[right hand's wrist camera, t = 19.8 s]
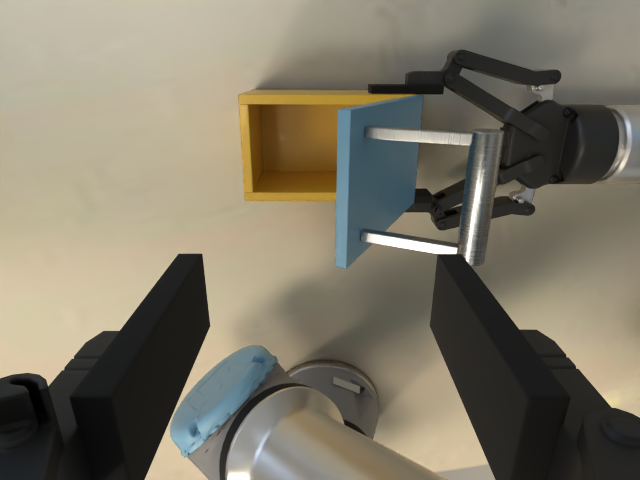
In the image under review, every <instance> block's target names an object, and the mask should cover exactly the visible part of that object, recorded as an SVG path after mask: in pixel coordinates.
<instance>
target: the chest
mask: <svg viewBox="0 0 640 480" xmlns="http://www.w3.org/2000/svg"><path fill="white" fill-rule="evenodd" d="M413 95H415V94H370V93H368V90H278V89H253V90H251V91H248V92H245V93H242V94H239V95H238V98H239V114H240V130H241V146H242V162H243V178H244V192H245V201H336V189H337V132H338V109H342V108H348V107H353V106H359V105H364V104H369V103H375V102H380V101H386V100H391V99H397V98H402V97H408V96H413Z"/></svg>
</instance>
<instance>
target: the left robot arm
mask: <svg viewBox="0 0 640 480" xmlns="http://www.w3.org/2000/svg"><path fill="white" fill-rule="evenodd" d="M462 68H465V69H468V70H472V71H475V72H478V73H482V74H485V75H488V76H492V77H495V78H499V79H502V80H505V81H509V82H512V83H516V84H523V85H527V90H528V92H529V93H532V94H535V95H536V96H537V98H538V100H537V101H535V102H534V103H532V104H531V105H529V106H528V107H527V108H525V109H524V110H522V111H521V112H519V111H518V110H516V109H514V108H512V107H510V106H508V105H507V104H505V103H503V102H502V101H500V100H499V99H497V98H495V97H494V96H492V95H491V94H489V93H487V92H486V91H484V90H483V89H481V88H479V87H478V86H476V85H475V84H473V83H471V82H470V81H468V80H467V79H465V78H463V77H462V76H460V75H459V74H460V72H461V69H462ZM560 79H561V73H560V71H558V70H534V71H532V70H529V69H526V68H522V67H519V66H516V65H512V64H509V63H506V62H502V61H499V60H496V59H492V58H489V57H486V56H482V55H479V54H476V53H472V52H469V51H466V50H456V51H452V52H450V53H449V54H448V57H447V62H446V64H445V66H444V68H443V69H442V70H440V71H411V72H409V73H406V77H405V84H368V93H370V94H443V90H444V87H446V88H448V89H449V90H451V91H453V92H454V93H456V94H458V95H459V96H461V97H462V98H464V99H466V100H467V101H469V102H471V103H472V104H474V105H475V106H477V107H479V108H480V109H482V110H484V111H485V112H487V113H488V114H490V115H492V116H493V117H494V118H496V119H497V120H499V121H501V122H502V123H504V126H503V127H501V128H500V130H502V131H504V138H503V145H502V151H501V157H500V164H499V170H498V177H497V183H496V186H497V185H500V184H505V183H507V182H510V181H512V180H514V179H516V180H517V181H518V182H519V183H521V184H522V187H521V188H520V189H519V190H518V191H513V192H511V193H509V196H502V197H496V198H494V202H493V209H492V215H491V219H493V218H497V217H501V216H505V215H509V214H516V215H527V216H528V215H531V214H533V213H534V211H535V206H534V205H532V204H531V203H532V200H533V196H534V193H535V189H537V188H539V187H541V186H543V185H546V184H592V183H597V184H640V105H608V106H603V105H560V104H558V103H557V102H555V101H553V93H554V84H556V83H557V82H559V80H560ZM464 187H465V179H464V180H462V181H460V182H458V183H456V184H454V185H452V186H450V187H448V188H446V189H444V190H442V191H440V192H438V193H436V194H434V195H432V194H431V193H430V192H429V191H428V190H427V189H415V198H414V203H413V204H412V205H411V206H410V207H409V208H408V209H407V210H406V211H405V212H428V213H430V215H431V220H432V222H433V223H434V224H435V226H436V227H437V228H438V229H439V230H447V229H451V228H455V227H459V226H460V218H461V210H462V206H459V207H455V208H452V207H454V206H456V205H458V204H460V203H462V202H463V195H464ZM450 208H451V209H450ZM277 361H278V360H277V357H276V356H273V355H272V354H271V353H270V352H269V351H268V350H267V349H266V348H264V347H262V346H259V345H252V346H248V347H245V348H242V349H240V350H238V351H236V352H235V353H233V354H231V355H230V356H228V357H227V358H225V359H224V360H222V361H221V362H220V363H218V364H217V365H216V366H215V367H214V368H212V369H211V370H210V371H209V372H208V373H207V374H206V375H205V376H204V377H203V378H202V379H201V380H200V381H199V382H198V383H197V384H196V385H195V386H194V387H193V388H192V389H191V391H190V392H189V393H188V394H187V395H186V397H185V398H184V399H183V401H182V402H181V404H180V406H179V407H178V409H177V410H176V412H175V414H174V416H173V419H172V422H171V425H170V436H171V438H172V440H173V442H174V443H175V444H176V446H177V447H178V448H179V449H180V450H181V455H182V456H184V457H186V456H187V457H188V458H189V459H190V460H191V461H192V462H193V464H194V465H195V466H196V467H197V468H198V469H199V470H200V471H201V472H202V473H203V474H204V475H205V476H206V477H207V478H208V479H209V480H448V479H446V478H444V477H442V476H440V475H438V474H436V473H435V472H433V471H431V470H429V469H427V468H425V467H423V466H421V465H419V464H418V463H416V462H414V461H412V460H410V459H408V458H406V457H404V456H402V455H400V454H399V453H397V452H395V451H393V450H391V449H389V448H387V447H385V446H383V445H382V444H380V443H378V442H376V441H374V440H373V437H374V433H375V429H376V425H377V421H378V415H379V405H378V398H377V394H376V390H375V388H374V386H373V384H372V383H371V381H370V380H369V379H368V377H367V376H366V375H364V374H363V373H362V372H361V371H359V370H358V369H356V368H354V367H352V366H350V365H348V364H345V363H342V362H337V361H330V360H320V361H312V362H308V363H305V364H302V365H299V366H297V367H295V368H293V369H292V370H290V371H289V372H287V373H286V372H285V371H284V369H283V368H282V367H281V366H280V365H279V363H278V362H277Z"/></svg>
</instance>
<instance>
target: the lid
mask: <svg viewBox="0 0 640 480" xmlns="http://www.w3.org/2000/svg"><path fill="white" fill-rule="evenodd" d="M422 105H423V95H413V96H408V97H402V98H397V99H391V100H386V101H380V102H375V103H369V104H364V105H359V106H353V107H348V108H342V109H338V132H337V189H336V245H335V266H336V267H340V268H345V269H347V268H348V267H349V266H350V265H351V264H352V263H353V262H354V261H355V260H356V259H357V258H358V257H359V256H360V255H361V254H362V253H363V252H364V251H365V250H366V249H367V248H368V247H369V246H370V245H371V244H372V243H376V244H381V245H387V246H393V247H398V248H404V249H410V250H415V251H421V252H426V253H432V254H462V255H463V257H464V258H465V259H466V261H467V262H468V263H469V265H470V266H479V265H482V264H483V263H484V260H485V253H486V247H487V240H488V234H489V228H490V221H491V215H492V209H493V202H494V196H495V189H496V183H497V177H498V170H499V164H500V157H501V151H502V145H503V138H504V131H502V130H496V129H474V130H472V132H468V131H451V130H434V129H420V128H421V117H422ZM419 143H433V144H447V145H460V146H470V148H469V156H468V164H467V171H466V179H465V187H464V195H463V202H462V210H461V218H460V226H459V233H458V241H457V243H451V242H445V241H439V240H433V239H427V238H421V237H415V236H409V235H402V234H396V233H390V232H384V231H386V230H387V229H388V228H389V227H390V226H391V225H392V224H393V223H394V222H395V221H396V220H397V219H398V218H399V217H400V216H401V215H402V214H403V213H404V212H405V211H406V210H407V209H408V208H409V207H410V206H411V205H412V204H413V203H414V198H415V186H416V175H417V163H418V152H419Z"/></svg>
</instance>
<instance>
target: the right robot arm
mask: <svg viewBox="0 0 640 480" xmlns="http://www.w3.org/2000/svg"><path fill="white" fill-rule="evenodd" d="M209 327H210V321H209V312H208V303H207V294H206V284H205V275H204V266H203V257H202V254H178V255H177V257H176V258H175V259H174V261H173V262H172V263H171V265H170V266H169V267H168V269H167V270H166V271H165V272H164V274H163V275H162V276H161V278H160V279H159V280H158V282H157V283H156V284H155V286H154V287H153V288H152V290H151V291H150V292H149V293H148V295H147V296H146V297H145V299H144V300H143V301H142V303H141V304H140V305H139V307H138V308H137V309H136V310H135V312H134V313H133V314H132V316H131V317H130V318H129V320H128V321H127V322H126V324H125V325H124V326H123V327H122V329H121V330H120V331H103V332H102V333H100V334H98V335H97V336H95V337H94V338H92V339H91V340H89V341H88V342H86V343H85V344H84V345H83V347H82V348H81V349H80V350H79V351H78V353H77V354H76V355H75V356H74V359H72V360H71V361H70V362H69V363H68V364H67V365H66V367H65V370H64V371H61V372H60V374H59V375H58V376H57V377H56V378H55V379H54V381H53V382H52V383H51V384H50V385H49V386H48V385H47V381H46V379H44V378H43V377H42V376H40V375H37V374H31V373H24V374H15V375H10V376H7V377H4V378H0V480H144V479H145V477H146V475H147V472H148V470H149V468H150V465H151V463H152V461H153V458H154V456H155V454H156V451H157V449H158V447H159V444H160V442H161V440H162V437H163V435H164V433H165V430H166V428H167V426H168V423H169V421H170V419H171V416H172V414H173V412H174V409H175V407H176V405H177V402H178V400H179V397H180V395H181V393H182V390H183V388H184V386H185V383H186V381H187V379H188V376H189V374H190V372H191V369H192V367H193V365H194V362H195V360H196V358H197V355H198V353H199V351H200V348H201V346H202V344H203V341H204V339H205V337H206V334H207V332H208V330H209ZM430 327H431V330H432V332H433V334H434V337H435V339H436V341H437V344H438V346H439V348H440V351H441V353H442V355H443V358H444V360H445V362H446V365H447V367H448V369H449V372H450V374H451V376H452V379H453V381H454V383H455V386H456V388H457V390H458V393H459V395H460V397H461V400H462V402H463V404H464V407H465V409H466V412H467V414H468V416H469V419H470V421H471V423H472V426H473V428H474V430H475V433H476V435H477V437H478V440H479V442H480V444H481V447H482V449H483V451H484V454H485V456H486V458H487V461H488V463H489V465H490V468H491V470H492V472H493V475H494V477H495V479H496V480H640V418H639V417H637V416H635V415H634V414H631V413H628V412H626V411H623V410H620V409H617V408H611V406H610V405H609V404H608V403H607V402H606V401H605V399H604V398H603V397H602V396H601V395H600V394H599V393H598V391H597V390H596V389H595V388H594V387H593V386H592V384H591V383H590V382H589V381H588V380H587V379H586V377H585V376H584V375H583V374H582V373H581V372H580V370H579V369H576V366H575V365H574V363H573V362H572V361H571V360H570V359H569V358H567V357H566V354H565V353H564V352H563V351H562V350H561V348H560V347H559V346H558V345H557V344H556V343H555V341H553V340H552V339H550V338H549V337H547V336H545V335H544V334H542V333H541V332H539V331H538V330H519V329H518V327H517V326H516V325H515V324H514V322H513V321H512V320H511V318H510V317H509V316H508V314H507V313H506V312H505V310H504V309H503V308H502V307H501V305H500V304H499V303H498V301H497V300H496V299H495V297H494V296H493V295H492V293H491V292H490V291H489V289H488V288H487V287H486V286H485V284H484V283H483V282H482V280H481V279H480V278H479V276H478V275H477V274H476V272H475V271H474V270H473V269H472V267H471V266H470V265H469V263H468V262H467V261H466V259H465V258H464V257H463V255H462V254H438V257H437V266H436V275H435V284H434V294H433V303H432V312H431V321H430Z"/></svg>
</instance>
